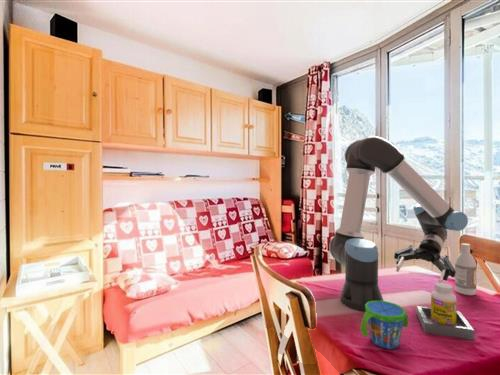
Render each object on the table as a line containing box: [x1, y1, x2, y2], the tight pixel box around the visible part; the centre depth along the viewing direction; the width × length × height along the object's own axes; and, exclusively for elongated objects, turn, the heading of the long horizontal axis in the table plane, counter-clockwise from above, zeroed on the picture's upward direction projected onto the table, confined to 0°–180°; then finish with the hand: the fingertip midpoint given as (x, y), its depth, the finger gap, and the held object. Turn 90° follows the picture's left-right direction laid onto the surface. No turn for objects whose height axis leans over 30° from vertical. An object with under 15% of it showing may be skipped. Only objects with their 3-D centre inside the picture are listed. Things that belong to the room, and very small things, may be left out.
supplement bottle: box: [430, 282, 457, 326], centre depth 89 cm, size 7×7×13 cm
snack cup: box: [359, 300, 409, 350], centre depth 81 cm, size 16×10×10 cm
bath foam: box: [454, 242, 477, 296], centre depth 115 cm, size 7×7×20 cm
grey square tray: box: [416, 305, 475, 341], centre depth 89 cm, size 12×12×3 cm
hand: (418, 275), depth 102 cm, fingers open, 13 cm apart
